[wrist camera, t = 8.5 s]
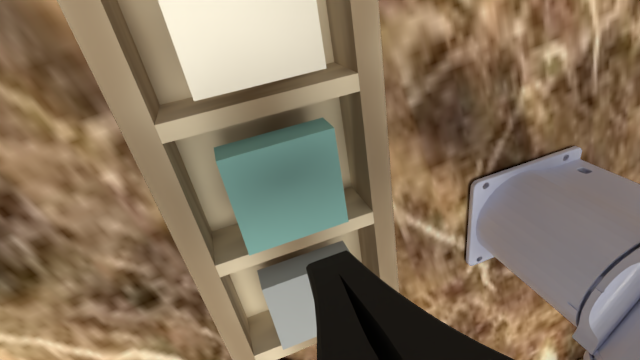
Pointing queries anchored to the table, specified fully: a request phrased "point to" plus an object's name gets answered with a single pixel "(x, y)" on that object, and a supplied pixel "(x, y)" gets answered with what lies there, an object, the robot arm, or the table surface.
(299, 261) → the slate key
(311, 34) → the ivory key
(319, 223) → the teal key
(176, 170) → the key box
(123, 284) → the table surface
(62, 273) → the table surface
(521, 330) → the table surface
